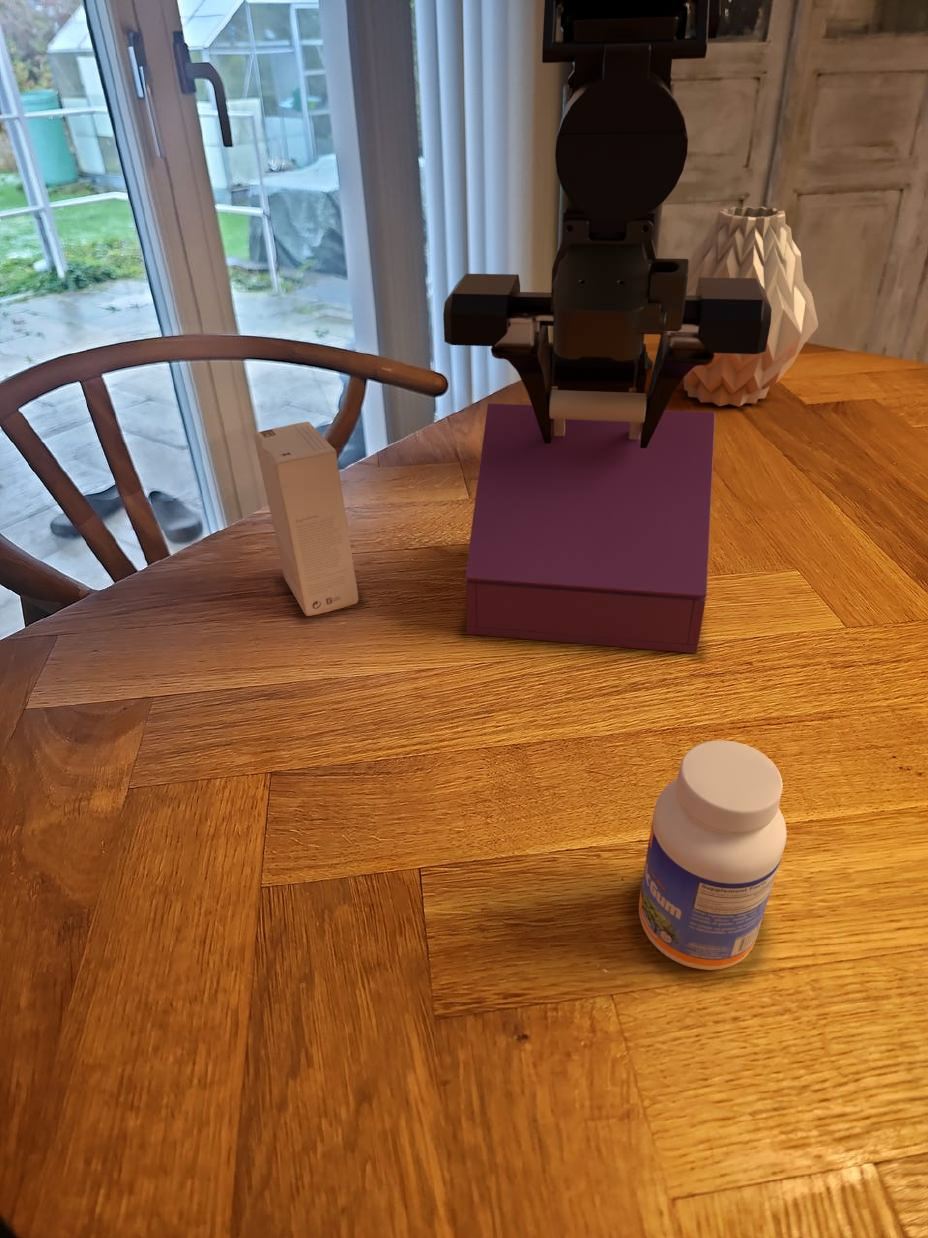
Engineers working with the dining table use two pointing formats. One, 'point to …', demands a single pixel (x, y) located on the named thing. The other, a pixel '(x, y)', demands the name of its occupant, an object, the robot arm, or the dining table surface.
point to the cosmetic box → (308, 516)
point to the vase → (770, 256)
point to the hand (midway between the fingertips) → (595, 443)
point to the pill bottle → (713, 855)
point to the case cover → (594, 497)
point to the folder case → (584, 616)
